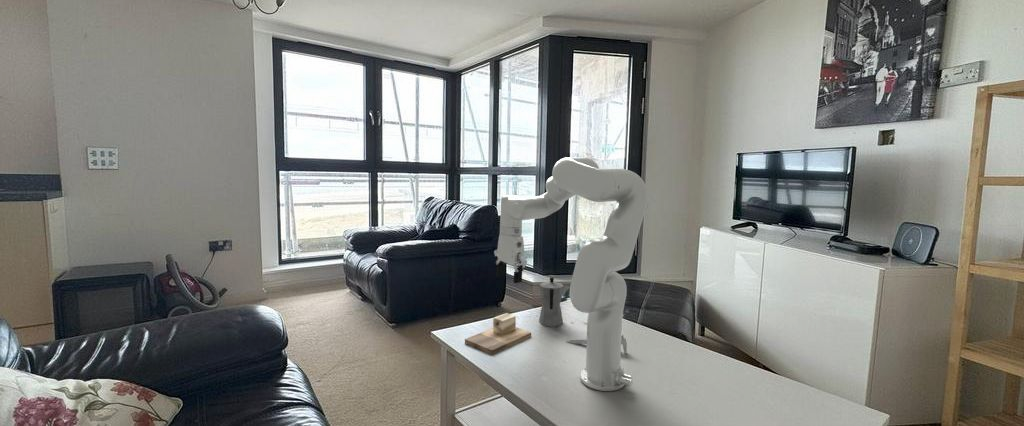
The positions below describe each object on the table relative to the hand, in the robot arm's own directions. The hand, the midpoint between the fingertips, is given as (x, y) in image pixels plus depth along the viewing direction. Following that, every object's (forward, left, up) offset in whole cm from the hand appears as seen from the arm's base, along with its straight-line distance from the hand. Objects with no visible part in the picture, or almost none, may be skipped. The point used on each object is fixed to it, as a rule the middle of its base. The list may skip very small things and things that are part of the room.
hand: (509, 278), depth 147 cm
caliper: (-27, -14, -22) cm, 37 cm away
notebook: (+1, +4, -21) cm, 22 cm away
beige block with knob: (+3, -1, -20) cm, 20 cm away
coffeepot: (-3, -21, -22) cm, 30 cm away
